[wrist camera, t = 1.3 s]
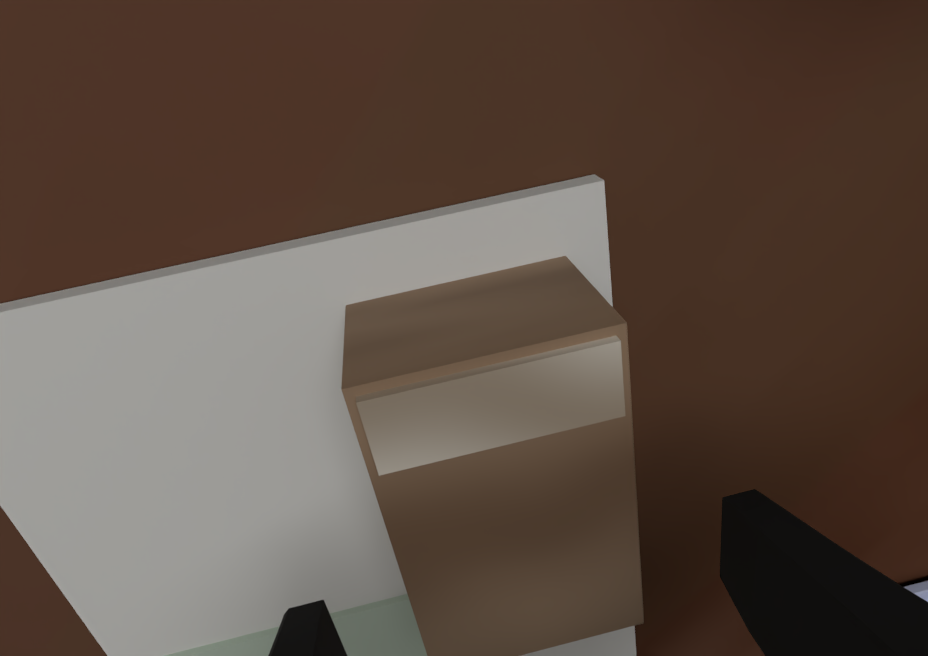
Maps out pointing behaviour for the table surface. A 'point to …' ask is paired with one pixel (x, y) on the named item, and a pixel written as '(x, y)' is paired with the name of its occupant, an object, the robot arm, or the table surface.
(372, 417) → the brown rectangular block
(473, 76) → the table surface
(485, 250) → the grey mat
